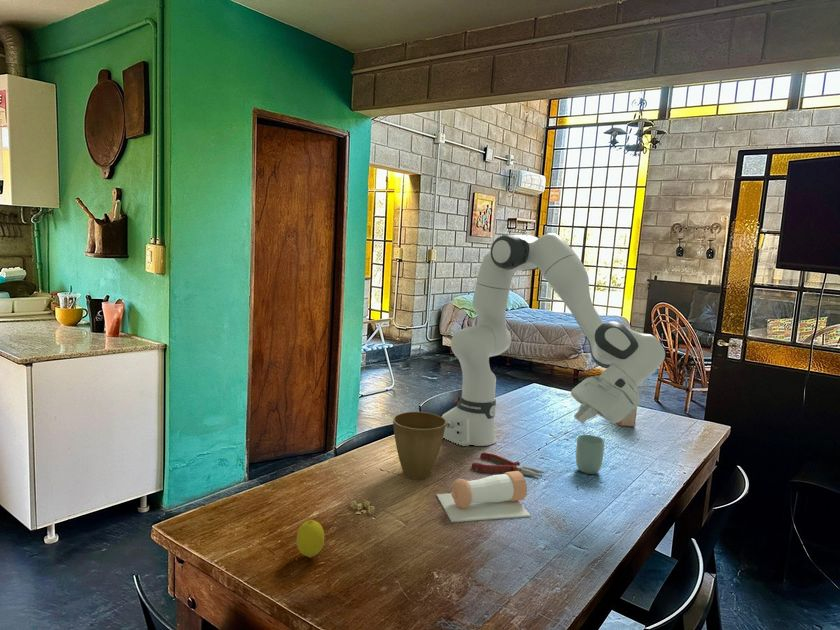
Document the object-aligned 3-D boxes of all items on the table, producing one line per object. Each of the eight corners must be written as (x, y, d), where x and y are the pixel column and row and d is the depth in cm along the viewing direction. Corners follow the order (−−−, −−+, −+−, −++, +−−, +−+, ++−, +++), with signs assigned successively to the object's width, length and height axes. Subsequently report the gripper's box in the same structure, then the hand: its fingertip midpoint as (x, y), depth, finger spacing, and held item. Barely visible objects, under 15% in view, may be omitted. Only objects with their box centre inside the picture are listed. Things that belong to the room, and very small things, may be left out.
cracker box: (636, 427, 210) (641, 373, 207) (620, 426, 210) (625, 372, 207) (623, 416, 224) (628, 365, 221) (608, 415, 224) (613, 364, 221)
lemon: (298, 549, 115) (298, 513, 114) (324, 549, 116) (325, 513, 115) (294, 564, 110) (295, 527, 109) (322, 564, 110) (323, 527, 109)
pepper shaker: (524, 505, 141) (456, 516, 133) (510, 490, 147) (444, 499, 140) (528, 480, 139) (459, 489, 132) (513, 465, 145) (447, 473, 138)
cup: (603, 478, 160) (606, 445, 159) (575, 474, 162) (578, 441, 161) (600, 468, 168) (603, 436, 167) (573, 464, 169) (576, 433, 168)
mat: (508, 491, 148) (508, 489, 148) (530, 516, 135) (530, 515, 135) (436, 495, 144) (436, 494, 144) (451, 522, 130) (451, 520, 130)
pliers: (538, 485, 154) (539, 476, 154) (469, 471, 162) (470, 462, 161) (546, 471, 165) (546, 463, 164) (481, 458, 172) (481, 450, 172)
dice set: (350, 508, 136) (350, 501, 136) (370, 506, 137) (370, 499, 137) (353, 518, 131) (353, 510, 131) (374, 516, 132) (374, 508, 132)
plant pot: (379, 473, 156) (381, 418, 154) (415, 459, 167) (418, 408, 165) (418, 490, 146) (421, 432, 144) (453, 475, 157) (457, 420, 155)
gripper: (588, 366, 156) (553, 399, 155) (631, 386, 136) (591, 425, 136) (600, 381, 158) (565, 414, 157) (645, 404, 138) (605, 442, 137)
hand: (577, 419), depth 146 cm, fingers closed
